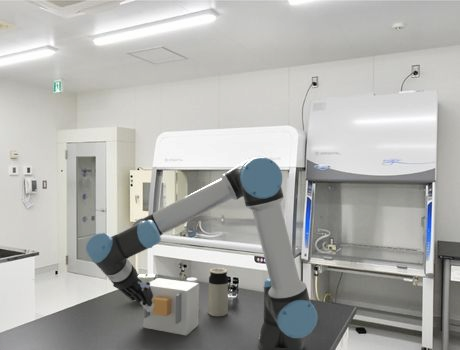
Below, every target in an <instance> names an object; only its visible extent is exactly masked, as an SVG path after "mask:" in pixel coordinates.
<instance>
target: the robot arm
mask: <svg viewBox="0 0 460 350" xmlns="http://www.w3.org/2000/svg"><path fill="white" fill-rule="evenodd" d="M282 183H283V173H282V170H281V168H280V167H279V165H278V164H277V163H276V162H275V161H274V160H272V159H271V158H268V157H264V156H254V157H252V158H247V159H245V160H243V161H242V162H240V163H239V164H237V165H236V166H235V167H233V168H232V169H230V170H228V171H227V172H224V173H223V174H222V176H221V178H219V179H217V180H215V181H213V182H212V183H211V182H210V184H208V185H205V186H204V187H202V188H200V189H198V190H196V191H194V192H192V193H190V194H188V195H186V196H184V197H182V198H181V199H178V200H176V201H175V202H172V203H170V204H169V205H167V206H165V207H162V208H161V209H159V210H157V211H155V212H153V213H151V214H149V215H148V216H146V217H143V218H140V219H138V220H136V221H135V222H134V223H133V224H132V226H131V227H130V228H127V229H126V230H124V231H121V232H119V233H117V234H114V235H112V236H111V235H110V234H108V233H106V232H102V233H101V232H99V233H96V234H94V235H93V236H91V237H90V239H88V241H87V243H86V246H85V251H86V254H87V255H88V256H89V258H90V259H91V261H92V262H93V263H94V264H95V265H96V266H97V267H98V268H99V269H100V270H101V271H102V273H103V274H105V276H106V277H107V279H108V280H109V281H111V283H112V286H113V287H114V288H116V289H118V290H119V291H120V292H121V293H122V294H124V295H125V296H126V297H127V298H128V299H130V300H131V301H132V302H133V301H136V302H137V303H139V304H140V305H141V306H142V308H143V309H144V308H145V309H146V310H147V312H151V313H152V310H153V308H154V304H153V303H152V301H151V300H152V298H153V294H152V291H151V289H150V283H149V282H147V283H145V284H144V283H142V281H141V280H140V279H139V278H138V271H137V269H136V268H135V266H134V265H133V264H132V262H131V261H130V260H129V258H131V257H133V256H135V255H137V254H140V253H141V252H143V251H146V250H148V249H151V248H153V247H154V246H155V245H158V244H160V242H161V240H162V237H161V236H162V235H165V234H167V233H168V232H170V231H172V230H174V229H176V228H178V227H179V226H181V225H184V224H186V223H187V222H190V221H191V220H194V219H195V218H197V217H200V216H201V215H203V214H205V213H207V212H209V211H212V210H213V209H215V208H216V207H219V206H220V205H222V204H224V203H226V202H229V201H231V200H235V201H237V200H239V199H240V198H243V200H244V204H245V207H246V208H247V209H250V211H252V215H253V219H254V223H255V226H256V230H257V234H258V238H259V242H260V245H261V251H262V254H263V258H264V261H265V265H266V269H267V272H268V278H266V279H265V280H264V283H263V322H262V323H263V324H262V326H261V328H260V332H259V334H258V341H257V345H258V348H259V349H260V350H304V340H303V338H305V337H306V336H308V335H310V334H311V333H312V332H313V331H314V329H315V327H316V326H317V324H318V317H319V316H318V310H316V308H315V305H314V304H313V303H312V302H311V299H310V295H309V291H308V288H307V284H306V283H305V282H304V281H302V280H300V277H299V273H298V268H297V264H296V262H295V260H296V259H295V258H294V254H293V250H292V245H291V241H290V237H289V233H288V229H287V226H286V222H285V217H284V214H283V210H282V206H281V203H282V201H283V199H284V192H283V188H282Z"/></svg>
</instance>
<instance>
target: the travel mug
mask: <svg viewBox="0 0 460 350" xmlns="http://www.w3.org/2000/svg"><path fill="white" fill-rule="evenodd" d="M228 271H229V270H228V269H227V268H223V267H214V268H210V269H209V273H210V275H209V277H208V314H209V315H210V316H211V317H218V318H219V317H224V316H227V315H228V313H229V310H228V308H229V307H228V306H229V305H228V304H229V303H228V302H229V301H228V300H229V277H228V275H227V274H228Z"/></svg>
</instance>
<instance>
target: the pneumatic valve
mask: <svg viewBox="0 0 460 350" xmlns="http://www.w3.org/2000/svg"><path fill="white" fill-rule="evenodd" d="M137 275H138V278H139V279H140V280H141V281H142V283H144V284H145V283H147V282H151V281H153V280H155V279H157V278H159V276H158V274H157V273H155V274H153V273H151V274H150V273H147V272H145V273H144V274H143V273H142V274H141V273H139V274H138V273H137Z"/></svg>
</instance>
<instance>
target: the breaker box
mask: <svg viewBox="0 0 460 350" xmlns="http://www.w3.org/2000/svg"><path fill="white" fill-rule="evenodd" d="M149 283H150V289H151V291H152V294H153V298H155V297H157V296H161V297H168V298H171V314H169V315H168V316H162V315H156V314H153V310H152V313H151V312H147V310H146V309H145V308H144V307H143V325H142V326H143V328H144V329H148V330H149V329H150V330H155V331H160V332H165V333H170V334H174V335H175V334H176V335H181V336H188V335H189V334H191V332H192V331H193V330H195V329H196V328H197V327H198V326H199V321H200V320H199V312H200V311H199V310H200V309H199V308H200V283H199V282H197V283H193V282H186V280H183V281H182V280H178V279H177V280H175V279H168V278H161V277H158V278H157V279H155V280H153V281H151V282H149ZM153 298H152V300H151V301H152V303H153Z"/></svg>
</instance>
